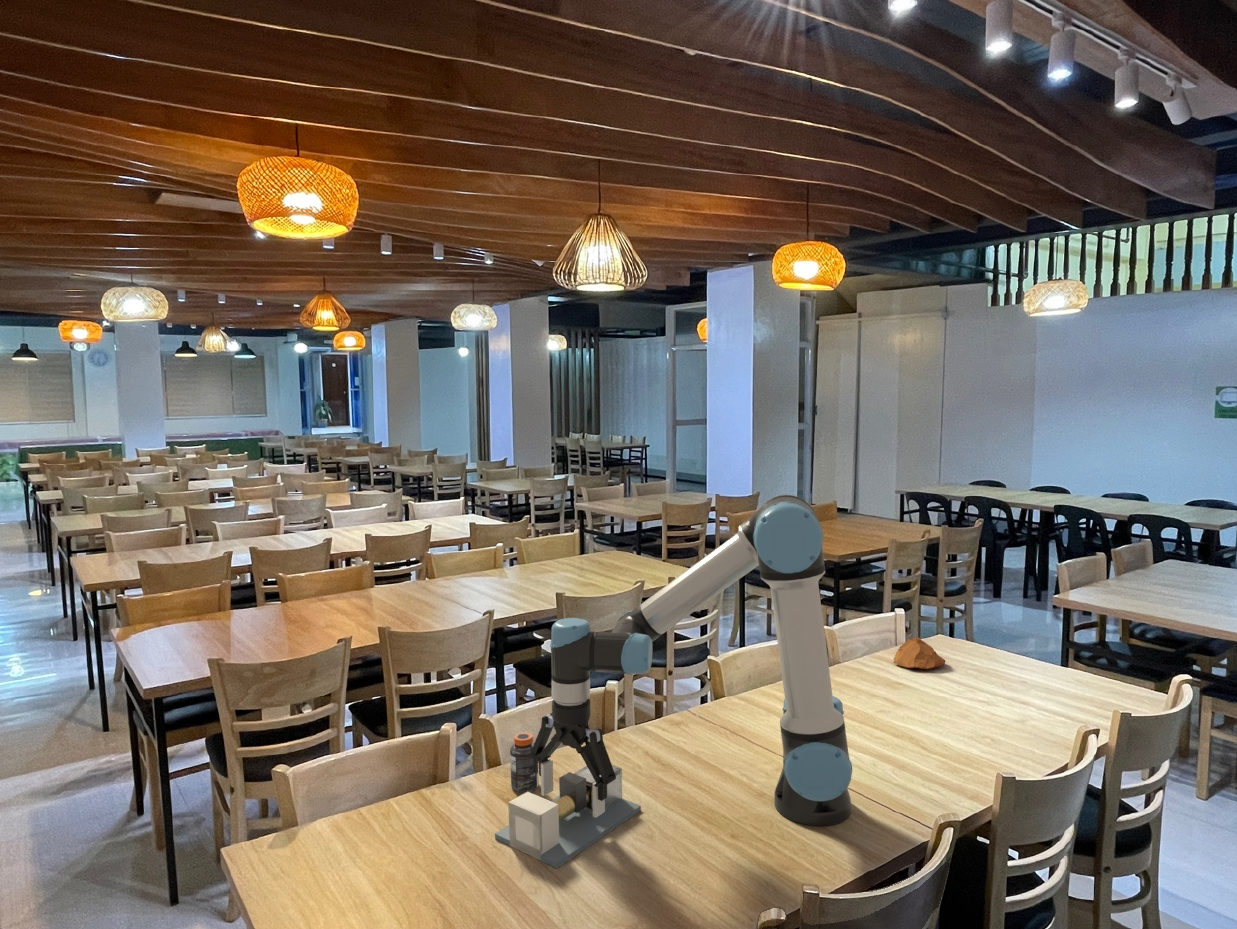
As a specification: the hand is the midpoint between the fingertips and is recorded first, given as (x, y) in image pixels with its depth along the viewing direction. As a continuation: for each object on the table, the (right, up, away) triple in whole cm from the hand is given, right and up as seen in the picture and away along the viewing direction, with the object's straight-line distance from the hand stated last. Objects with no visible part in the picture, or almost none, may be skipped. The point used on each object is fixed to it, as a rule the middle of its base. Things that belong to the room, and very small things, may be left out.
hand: (572, 803), depth 159 cm
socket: (-7, -5, -8) cm, 12 cm away
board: (0, -4, 0) cm, 4 cm away
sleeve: (+5, -2, +6) cm, 8 cm away
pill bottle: (-11, -3, +15) cm, 19 cm away
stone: (+101, +5, +89) cm, 135 cm away
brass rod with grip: (+2, -1, +2) cm, 3 cm away
